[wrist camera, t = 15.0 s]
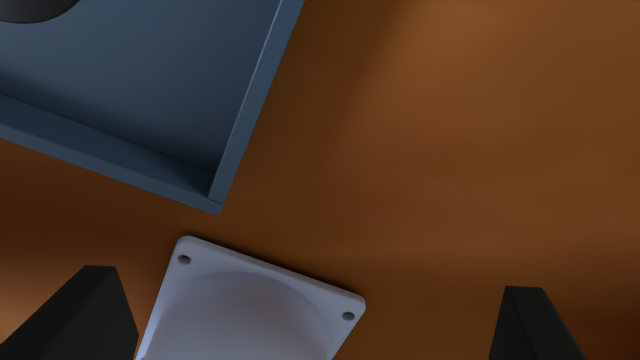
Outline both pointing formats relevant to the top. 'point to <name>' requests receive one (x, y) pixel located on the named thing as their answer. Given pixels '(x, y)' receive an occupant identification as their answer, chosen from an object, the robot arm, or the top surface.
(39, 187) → the top surface
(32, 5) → the spice tin
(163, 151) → the tray
